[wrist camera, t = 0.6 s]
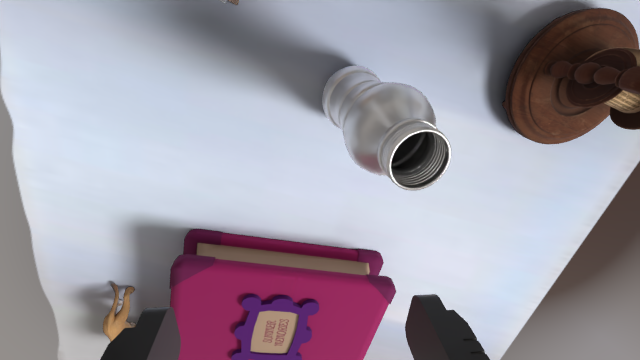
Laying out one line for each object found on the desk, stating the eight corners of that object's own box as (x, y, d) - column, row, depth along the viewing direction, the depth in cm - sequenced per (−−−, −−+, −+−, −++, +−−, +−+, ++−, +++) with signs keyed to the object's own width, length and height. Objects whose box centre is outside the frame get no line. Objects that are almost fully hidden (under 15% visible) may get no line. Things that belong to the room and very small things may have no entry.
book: (345, 342, 54) (354, 387, 48) (179, 332, 49) (163, 381, 42) (383, 250, 46) (400, 288, 39) (188, 224, 40) (169, 264, 33)
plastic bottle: (309, 110, 35) (340, 193, 17) (335, 52, 32) (402, 78, 15) (358, 131, 37) (433, 226, 19) (386, 77, 34) (501, 128, 16)
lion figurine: (165, 332, 48) (147, 379, 41) (138, 338, 47) (115, 387, 41) (128, 277, 42) (100, 322, 36) (97, 284, 42) (64, 331, 36)
